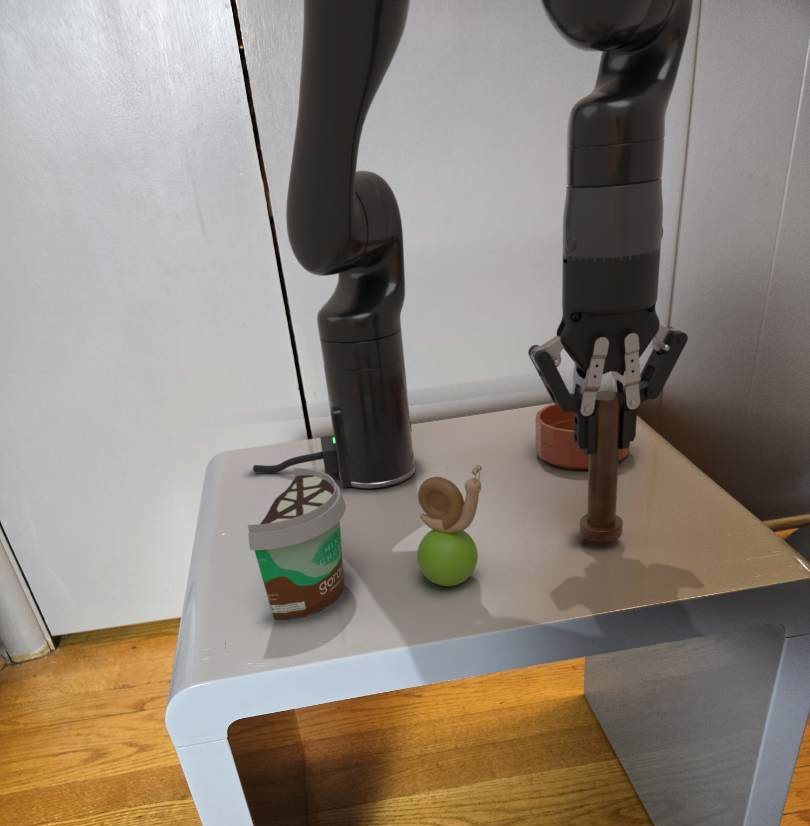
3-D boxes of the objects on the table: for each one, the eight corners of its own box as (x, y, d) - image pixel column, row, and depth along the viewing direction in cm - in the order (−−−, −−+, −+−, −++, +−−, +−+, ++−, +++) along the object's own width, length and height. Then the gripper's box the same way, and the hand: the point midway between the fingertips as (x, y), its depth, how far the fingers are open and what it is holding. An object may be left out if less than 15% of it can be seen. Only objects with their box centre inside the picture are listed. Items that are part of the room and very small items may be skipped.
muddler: (588, 545, 69) (592, 405, 62) (573, 525, 72) (575, 392, 66) (629, 538, 69) (637, 399, 63) (612, 519, 73) (618, 385, 66)
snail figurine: (471, 606, 64) (464, 480, 58) (408, 589, 67) (395, 468, 61) (498, 575, 68) (494, 454, 62) (438, 561, 71) (428, 445, 65)
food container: (335, 633, 62) (318, 529, 57) (267, 629, 64) (245, 528, 59) (370, 558, 73) (358, 465, 68) (311, 556, 74) (295, 465, 69)
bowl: (552, 477, 85) (553, 437, 82) (525, 443, 94) (524, 406, 92) (644, 464, 86) (647, 423, 83) (607, 432, 95) (609, 394, 93)
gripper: (673, 230, 62) (658, 424, 70) (512, 250, 61) (516, 445, 69) (719, 240, 56) (697, 452, 64) (540, 262, 54) (541, 476, 63)
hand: (603, 447), depth 67 cm, fingers closed on muddler, 2 cm apart
